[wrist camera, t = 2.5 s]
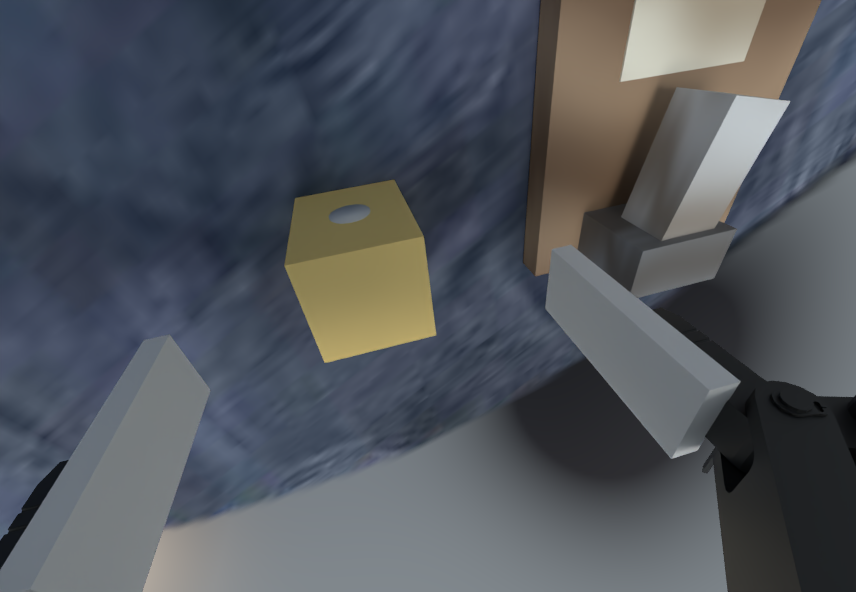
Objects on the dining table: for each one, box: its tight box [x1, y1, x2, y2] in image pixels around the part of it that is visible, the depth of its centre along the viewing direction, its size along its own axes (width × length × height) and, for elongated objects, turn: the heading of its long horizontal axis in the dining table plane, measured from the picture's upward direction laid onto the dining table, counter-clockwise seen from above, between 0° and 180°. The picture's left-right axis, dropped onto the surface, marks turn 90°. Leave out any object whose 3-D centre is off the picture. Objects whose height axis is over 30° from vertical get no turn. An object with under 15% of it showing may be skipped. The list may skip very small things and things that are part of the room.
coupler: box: [284, 180, 436, 363], centre depth 15 cm, size 5×5×6 cm
